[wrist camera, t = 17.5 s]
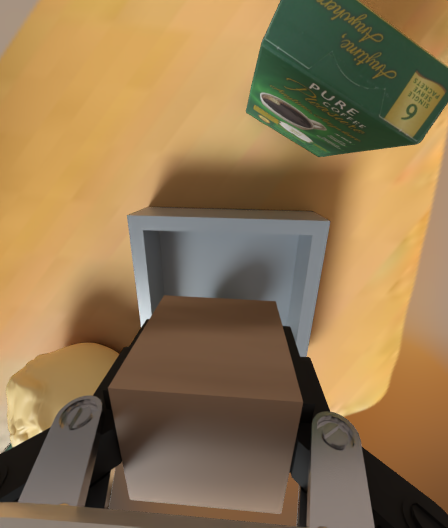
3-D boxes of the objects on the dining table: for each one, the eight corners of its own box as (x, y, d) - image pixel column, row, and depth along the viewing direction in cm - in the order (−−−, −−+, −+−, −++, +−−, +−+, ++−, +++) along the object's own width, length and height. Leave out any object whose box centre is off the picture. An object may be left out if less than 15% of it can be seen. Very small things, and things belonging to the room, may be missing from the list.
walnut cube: (163, 295, 11) (107, 387, 6) (275, 301, 11) (303, 402, 6) (170, 379, 13) (129, 499, 8) (265, 386, 13) (280, 514, 8)
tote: (161, 352, 31) (148, 384, 27) (148, 206, 25) (127, 215, 20) (290, 359, 31) (300, 393, 26) (312, 211, 24) (330, 221, 19)
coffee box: (341, 128, 21) (478, 74, 9) (321, 160, 22) (420, 149, 10) (261, 78, 20) (296, -60, 8) (244, 113, 21) (252, 38, 9)
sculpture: (50, 322, 31) (-42, 396, 21) (144, 338, 31) (98, 419, 21) (58, 389, 35) (-15, 478, 25) (141, 402, 35) (102, 496, 25)
